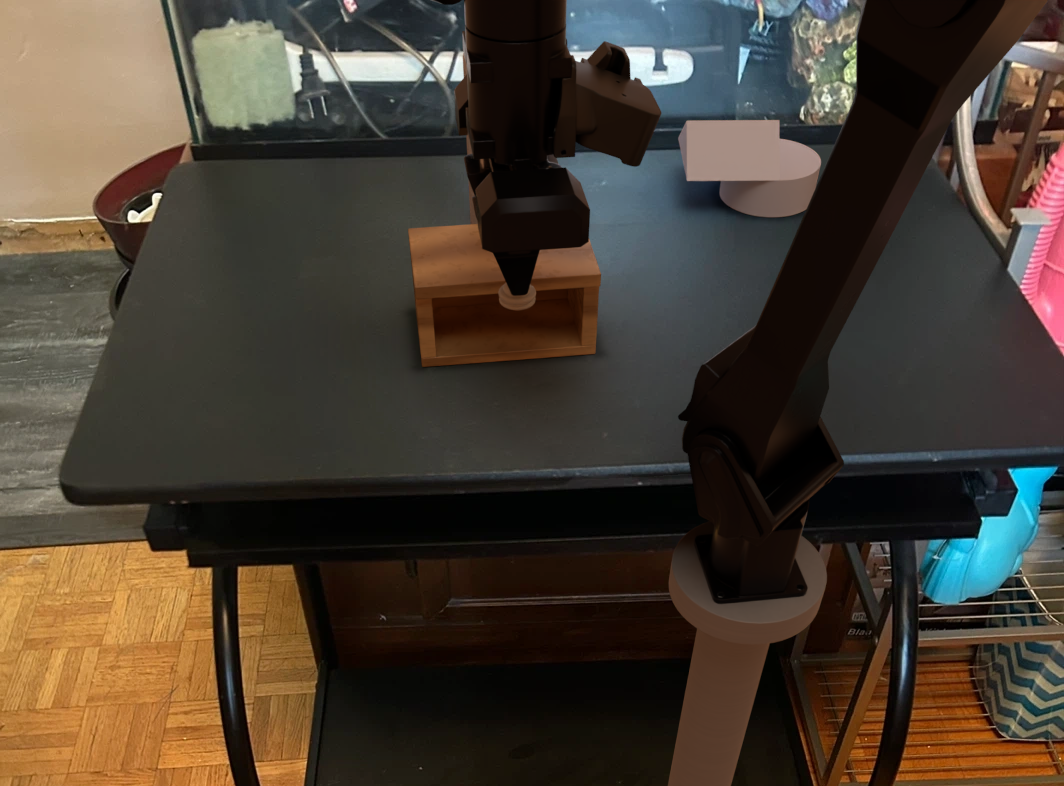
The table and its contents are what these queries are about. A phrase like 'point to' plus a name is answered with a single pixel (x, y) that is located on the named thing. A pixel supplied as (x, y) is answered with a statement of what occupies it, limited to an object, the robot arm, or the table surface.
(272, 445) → the table surface
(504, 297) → the pawn
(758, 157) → the wedge on round base
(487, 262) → the shelf
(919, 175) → the robot arm
